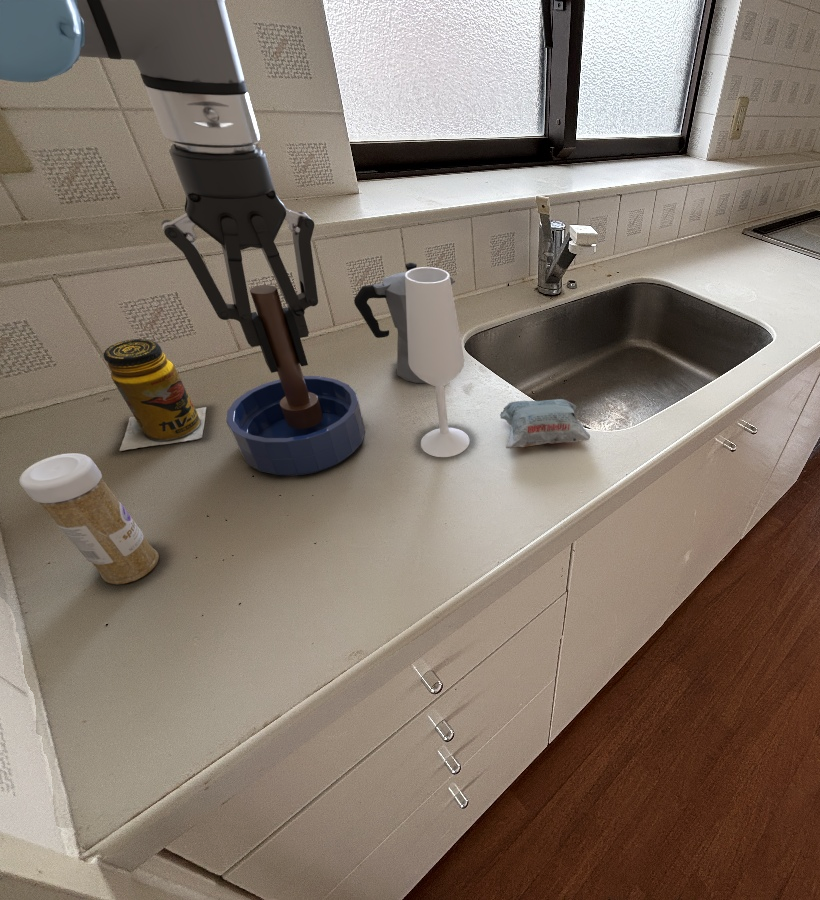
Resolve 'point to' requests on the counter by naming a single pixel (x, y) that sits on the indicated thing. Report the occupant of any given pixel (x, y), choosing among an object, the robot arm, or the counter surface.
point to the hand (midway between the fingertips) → (287, 363)
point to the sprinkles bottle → (90, 516)
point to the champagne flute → (435, 349)
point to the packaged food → (542, 423)
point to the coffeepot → (396, 302)
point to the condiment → (152, 396)
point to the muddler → (286, 361)
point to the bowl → (296, 449)
